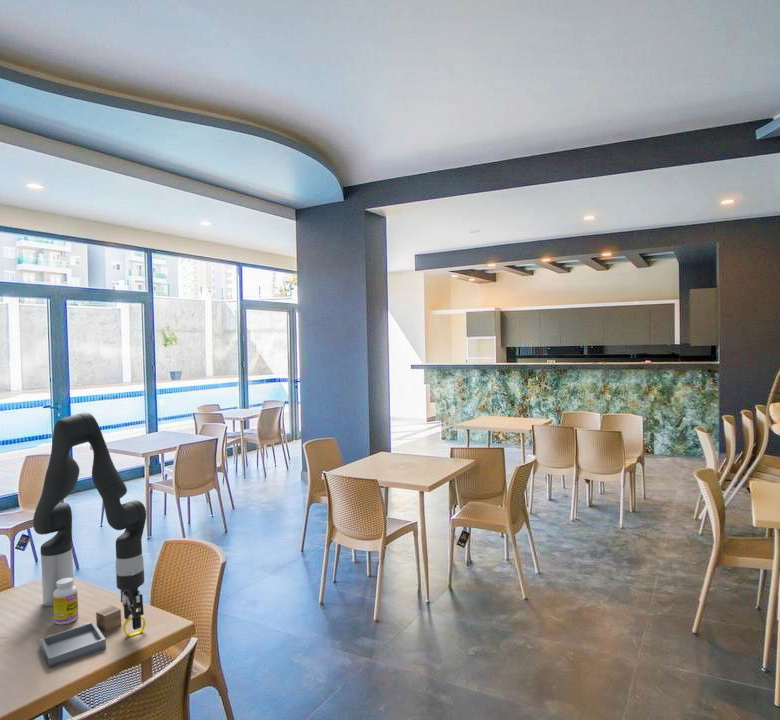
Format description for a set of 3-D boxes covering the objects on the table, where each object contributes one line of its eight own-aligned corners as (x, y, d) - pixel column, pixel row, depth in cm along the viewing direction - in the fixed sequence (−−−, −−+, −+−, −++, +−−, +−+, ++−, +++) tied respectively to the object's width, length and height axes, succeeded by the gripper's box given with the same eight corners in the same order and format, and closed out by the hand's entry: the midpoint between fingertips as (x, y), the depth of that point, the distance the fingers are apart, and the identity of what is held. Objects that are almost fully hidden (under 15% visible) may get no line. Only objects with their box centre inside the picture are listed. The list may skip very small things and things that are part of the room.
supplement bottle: (67, 626, 170) (65, 585, 170) (49, 624, 171) (47, 584, 171) (83, 615, 176) (81, 576, 176) (65, 614, 178) (63, 575, 177)
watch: (125, 640, 161) (123, 621, 161) (123, 636, 163) (121, 617, 163) (147, 632, 165) (144, 613, 164) (144, 628, 167) (142, 609, 166)
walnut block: (96, 628, 168) (96, 612, 168) (112, 620, 173) (111, 605, 172) (105, 632, 166) (104, 616, 166) (121, 625, 170) (120, 609, 170)
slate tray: (40, 647, 158) (40, 638, 158) (94, 629, 167) (93, 621, 167) (49, 668, 148) (49, 658, 147) (106, 647, 157) (105, 639, 157)
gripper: (110, 566, 166) (112, 619, 166) (123, 580, 155) (126, 636, 155) (136, 559, 171) (138, 610, 171) (150, 572, 160) (153, 627, 160)
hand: (132, 623), depth 163 cm, fingers open, 8 cm apart
